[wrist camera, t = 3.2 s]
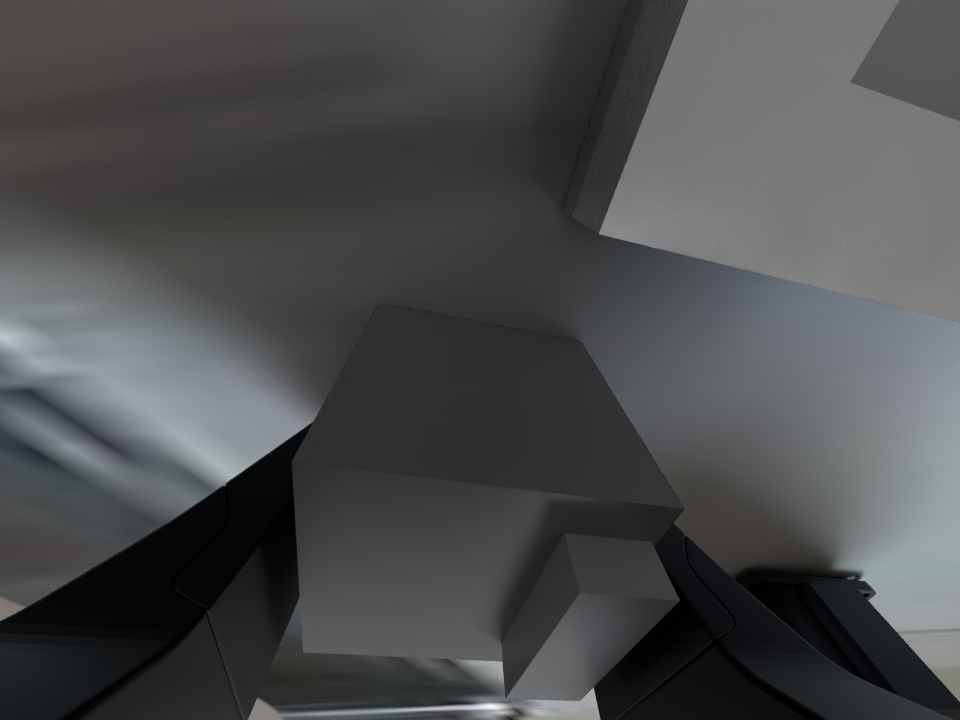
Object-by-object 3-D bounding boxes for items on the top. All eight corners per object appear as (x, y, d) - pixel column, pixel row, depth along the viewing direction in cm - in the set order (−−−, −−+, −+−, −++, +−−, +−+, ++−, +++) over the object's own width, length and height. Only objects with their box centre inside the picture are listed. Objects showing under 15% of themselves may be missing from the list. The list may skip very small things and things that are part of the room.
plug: (524, 476, 12) (569, 716, 7) (366, 456, 11) (284, 710, 6) (581, 341, 9) (721, 567, 4) (379, 303, 8) (257, 523, 3)
